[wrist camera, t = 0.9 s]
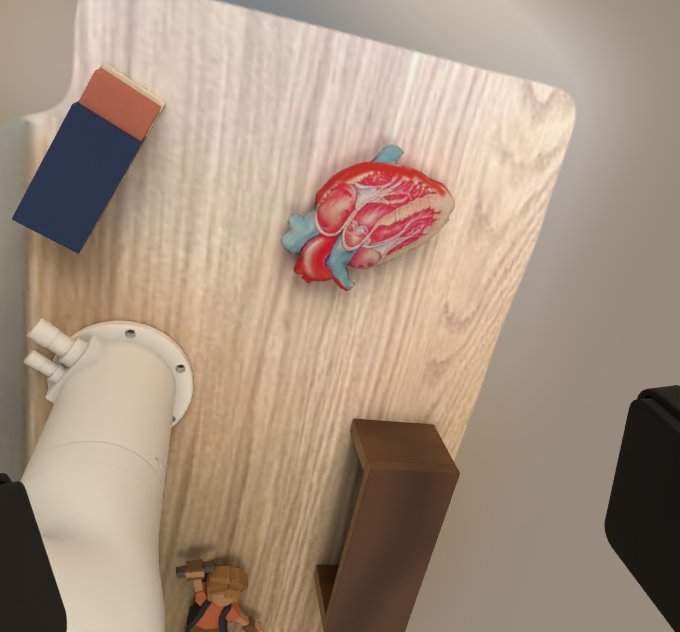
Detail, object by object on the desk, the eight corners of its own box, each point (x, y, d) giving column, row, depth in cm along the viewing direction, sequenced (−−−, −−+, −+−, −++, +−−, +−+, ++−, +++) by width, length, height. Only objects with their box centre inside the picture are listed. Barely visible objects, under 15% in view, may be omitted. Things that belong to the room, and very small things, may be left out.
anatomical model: (455, 209, 55) (472, 223, 51) (317, 298, 56) (323, 317, 53) (406, 119, 51) (421, 126, 47) (259, 217, 52) (262, 232, 49)
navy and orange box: (87, 238, 50) (75, 259, 46) (27, 206, 49) (8, 224, 44) (166, 102, 47) (160, 110, 43) (104, 61, 45) (92, 66, 41)
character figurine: (141, 681, 69) (177, 583, 61) (146, 639, 73) (181, 542, 65) (244, 687, 73) (291, 594, 65) (243, 646, 77) (288, 554, 69)
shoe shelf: (313, 574, 71) (324, 635, 64) (353, 418, 63) (370, 468, 56) (386, 575, 74) (404, 634, 67) (434, 424, 65) (460, 473, 58)
